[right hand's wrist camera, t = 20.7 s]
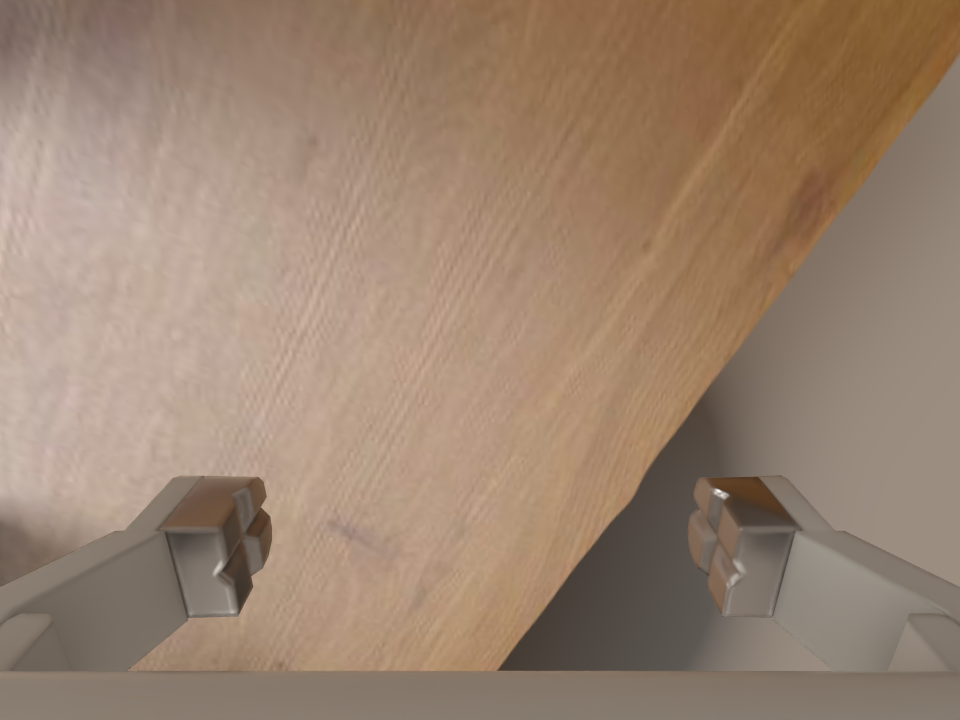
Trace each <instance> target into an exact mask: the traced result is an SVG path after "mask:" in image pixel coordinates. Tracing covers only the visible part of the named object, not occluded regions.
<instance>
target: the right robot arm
mask: <svg viewBox="0 0 960 720" xmlns="http://www.w3.org/2000/svg"><path fill="white" fill-rule="evenodd" d="M266 497H267V496H266V491H265V487H264V482H263V481H262V480H261V479H260V478H259V477H228V476H206V477H205V476H179V477H175V478H173V479H172V480H171V481H170V482H169V483H168V484H167V485H166V486H165V487H164V489H163V490H162V491H161V492H160V493H159V494H158V495H157V496H156V497H155V498H154V499H153V500H152V502H151V503H150V504H149V505H148V506H147V507H146V508H145V509H144V510H143V511H142V512H141V513H140V515H139V516H138V517H137V518H136V519H135V520H134V521H133V522H132V523H131V524H130V525H129V527H128V528H127V529H126V530H125V531H114V532H112V533H110V534H108V535H106V536H104V537H102V538H100V539H98V540H96V541H94V542H92V543H90V544H88V545H86V546H84V547H81V548H79V549H77V550H75V551H73V552H71V553H69V554H67V555H65V556H63V557H61V558H59V559H57V560H55V561H53V562H51V563H48V564H46V565H44V566H42V567H40V568H38V569H36V570H34V571H32V572H30V573H28V574H26V575H24V576H22V577H20V578H18V579H16V580H13V581H11V582H9V583H7V584H5V585H3V586H1V587H0V720H960V587H959V586H957V585H954V584H952V583H950V582H948V581H946V580H944V579H942V578H940V577H938V576H936V575H934V574H932V573H930V572H928V571H926V570H924V569H922V568H920V567H917V566H915V565H913V564H911V563H909V562H907V561H905V560H903V559H901V558H899V557H897V556H895V555H893V554H891V553H889V552H887V551H885V550H883V549H881V548H878V547H876V546H874V545H872V544H870V543H868V542H866V541H864V540H862V539H860V538H858V537H856V536H854V535H852V534H850V533H848V532H846V531H835V530H834V529H833V528H832V527H831V525H830V524H829V523H828V522H827V521H826V520H825V519H824V518H823V517H822V516H821V515H820V513H819V512H818V511H817V510H816V509H815V508H814V507H813V506H812V505H811V504H810V503H809V502H808V500H807V499H806V498H805V497H804V496H803V495H802V494H801V493H800V492H799V491H798V490H797V488H796V487H795V486H794V485H793V484H792V483H791V482H790V481H789V480H788V479H787V478H785V477H783V476H754V477H723V478H699V479H698V481H697V483H696V485H695V491H694V496H693V497H694V499H695V500H696V502H697V504H698V506H699V508H698V509H697V510H696V511H695V512H694V513H693V514H692V515H691V516H690V520H689V527H688V539H689V548H690V551H691V555H692V558H693V560H694V562H695V564H696V566H697V568H698V569H699V570H701V571H702V572H704V573H705V574H707V575H708V576H709V578H708V584H707V588H708V590H709V592H710V594H711V596H712V598H713V599H714V601H715V603H716V605H717V607H718V609H719V611H720V613H721V615H722V616H725V617H761V618H773V619H772V620H773V621H774V622H775V623H776V624H777V625H779V626H780V627H781V628H782V629H784V630H785V631H786V632H787V633H788V634H790V635H791V636H792V637H793V638H794V639H796V640H797V641H798V642H799V643H800V644H802V645H803V646H804V647H805V648H806V649H808V650H809V651H810V652H811V653H813V654H814V655H815V656H816V657H817V658H819V659H820V660H821V661H822V662H824V663H825V664H826V665H827V666H828V667H830V668H831V669H832V670H833V671H127V670H128V669H129V668H131V667H132V666H133V665H134V664H136V663H137V662H138V661H139V660H140V659H142V658H143V657H144V656H145V655H146V654H148V653H149V652H150V651H151V650H153V649H154V648H155V647H156V646H157V645H159V644H160V643H161V642H162V641H163V640H165V639H166V638H167V637H168V636H170V635H171V634H172V633H173V632H174V631H176V630H177V629H178V628H179V627H180V626H182V625H183V624H184V623H185V622H186V621H188V619H187V618H198V617H233V616H238V615H239V613H240V611H241V609H242V607H243V605H244V603H245V601H246V600H247V598H248V596H249V594H250V592H251V590H252V588H253V584H252V578H251V576H252V575H253V574H255V573H256V572H258V571H259V570H261V569H262V568H263V566H264V564H265V562H266V560H267V558H268V555H269V551H270V546H271V542H272V525H271V519H270V516H269V515H268V514H267V513H266V512H265V511H264V510H263V509H262V508H261V506H262V504H263V502H264V500H265V499H266Z"/></svg>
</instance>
